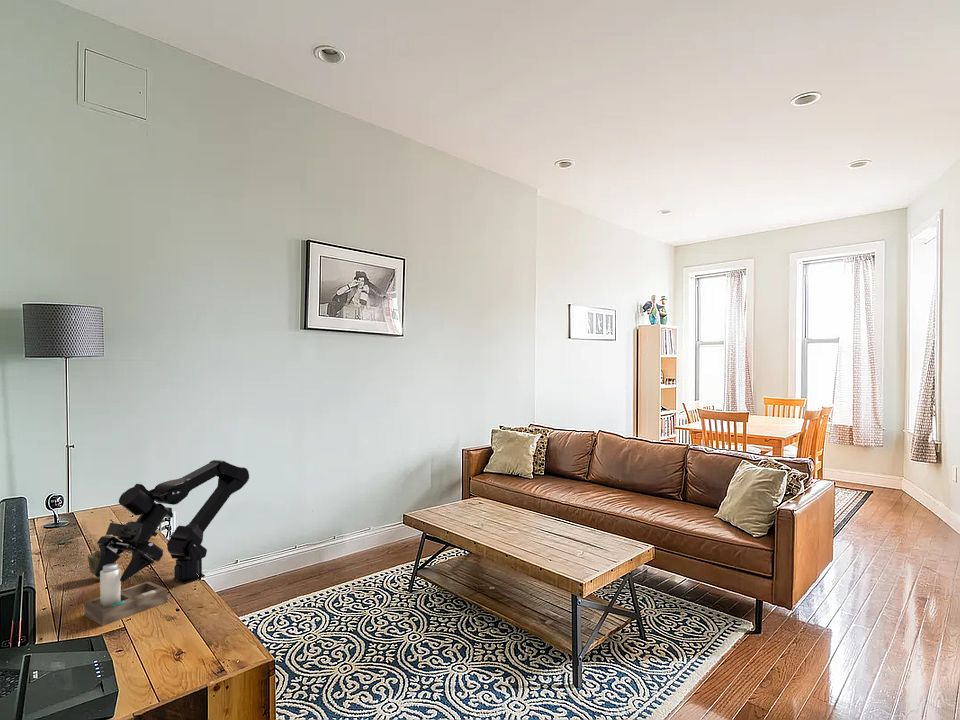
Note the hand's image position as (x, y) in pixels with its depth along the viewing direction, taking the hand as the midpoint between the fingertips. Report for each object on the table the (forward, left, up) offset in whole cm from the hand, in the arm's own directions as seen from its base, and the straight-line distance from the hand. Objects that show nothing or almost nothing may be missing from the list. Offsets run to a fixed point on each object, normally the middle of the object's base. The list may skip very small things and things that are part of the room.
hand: (108, 578), depth 144 cm
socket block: (-4, 0, -9) cm, 10 cm away
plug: (0, 0, -9) cm, 9 cm away
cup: (-10, -27, -9) cm, 30 cm away
